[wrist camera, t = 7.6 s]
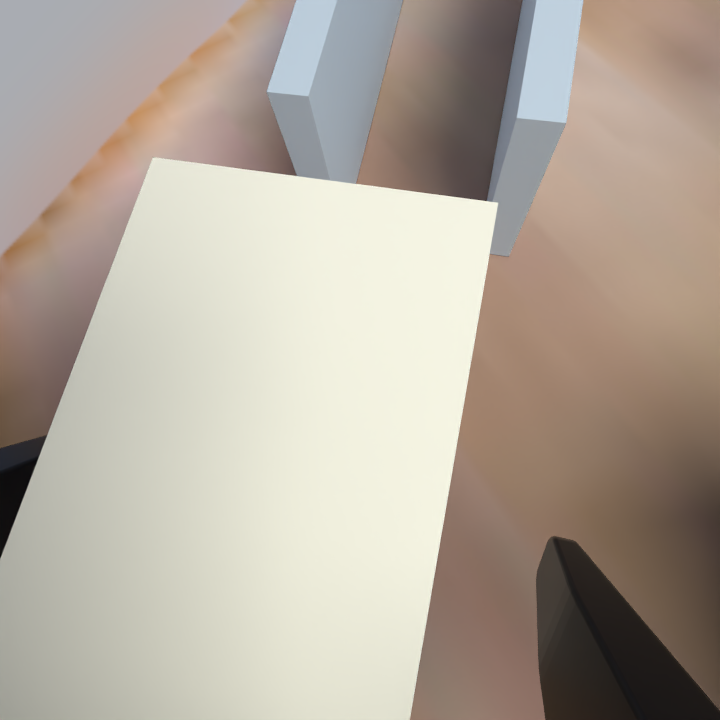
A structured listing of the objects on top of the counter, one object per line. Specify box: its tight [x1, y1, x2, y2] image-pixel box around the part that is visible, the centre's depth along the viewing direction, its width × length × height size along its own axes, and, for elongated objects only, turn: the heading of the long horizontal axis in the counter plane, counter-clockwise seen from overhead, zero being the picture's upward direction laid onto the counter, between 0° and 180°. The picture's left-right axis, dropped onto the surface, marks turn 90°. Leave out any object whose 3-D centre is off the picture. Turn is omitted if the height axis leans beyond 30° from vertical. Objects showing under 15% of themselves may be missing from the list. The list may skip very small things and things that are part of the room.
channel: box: [267, 0, 583, 257], centre depth 17 cm, size 14×8×7 cm, turn 167°
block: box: [0, 157, 498, 720], centre depth 11 cm, size 7×4×12 cm, turn 167°
